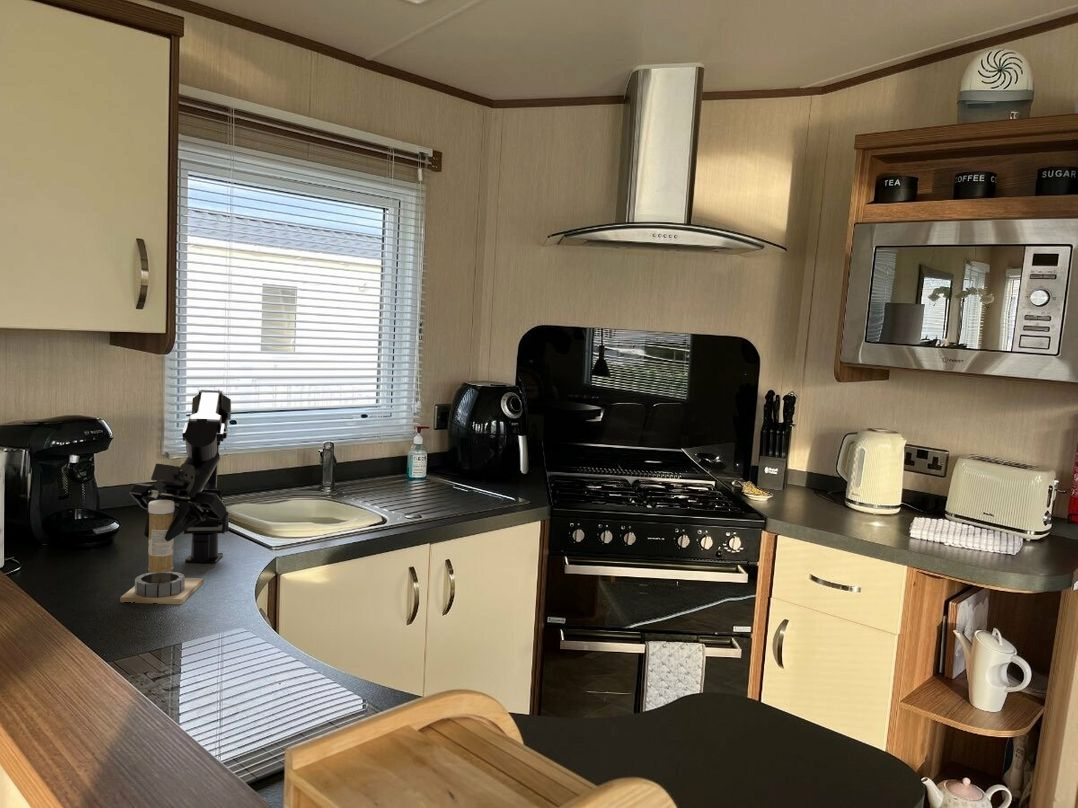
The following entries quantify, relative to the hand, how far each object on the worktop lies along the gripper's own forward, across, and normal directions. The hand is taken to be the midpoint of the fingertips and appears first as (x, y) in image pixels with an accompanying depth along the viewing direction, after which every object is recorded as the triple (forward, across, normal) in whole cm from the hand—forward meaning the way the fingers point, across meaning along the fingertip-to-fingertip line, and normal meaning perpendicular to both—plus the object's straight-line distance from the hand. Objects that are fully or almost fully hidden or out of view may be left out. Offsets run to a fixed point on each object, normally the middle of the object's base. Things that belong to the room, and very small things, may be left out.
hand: (156, 538), depth 161 cm
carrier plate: (+6, 0, +10) cm, 12 cm away
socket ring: (+7, 0, +9) cm, 12 cm away
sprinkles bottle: (+4, 0, +6) cm, 7 cm away
